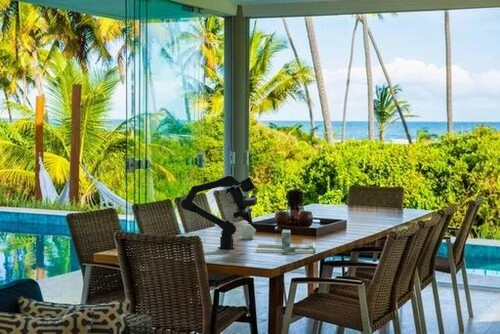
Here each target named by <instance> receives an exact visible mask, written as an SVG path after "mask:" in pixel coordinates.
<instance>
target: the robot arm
mask: <svg viewBox="0 0 500 334" xmlns="http://www.w3.org/2000/svg"><path fill="white" fill-rule="evenodd" d="M216 188H226V189H225V194H228V193H229V194H230V197H231V198H232V200H233V201H232V203H233V204H235V206H236V210H235V211H234V212H233V214H232V216H233V218H234V219H237V218H239V217H240V218H242V219H243V220H244V221H246V222H247V223H248V224H250V225H251V224H253V223H254V221H253V217H252V210H253V207H254V206H256V205H257V204H258V200H259V199H258V197H257V196H256V195H255V194H252V195H251V196H249V197H247V196H246V195H244V194H243V193H246V194H247V193H248V192H251V191H252V190H255V189H256V186H255V184H254V183H253V181H252V179H251V178H250V176H247V177H245V178H244V179H243V180H241V181H240V180H238V179H236V178H235V177H234V175H232V174H227V175H225V176H223V177H220V178H218V179H215V180H212V181H211V180H210V181H209V182H204V183H201V184H194V185H192V186H191V188H190V190H189V192H188V193H187V195H186V197H183V198H182V199H181V202H180V206H181V208H182V209H183V210H186V211H189V212H192V213H195V214H197V215H199V217H200V216H201V217H202V218H204V219H206V220H208V221H209V222H211V223H213V224H215V225H216V226H218V227H219V228H220V229H221V231H220V235H221V236H220V238H219V243H220V244H219V246H218V247H217V249H221V250H231V249H232V250H233V249H236V247H235V246H234V236H233V235H234V234H235V233H236V232H237V227H236V224H235V222H234V221H232V220H231V219H229V218H226V219H222V218H221V217H219V216H217V215H215V214H213V213H211V212H210V211H208V210H206V209H205V208H203V207H201V206H199V205H198V204H197V203H196V202H195V201H194V199H195V197H196V196H197V194H198V193H200V192H204V191H208V190H212V189H216Z"/></svg>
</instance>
